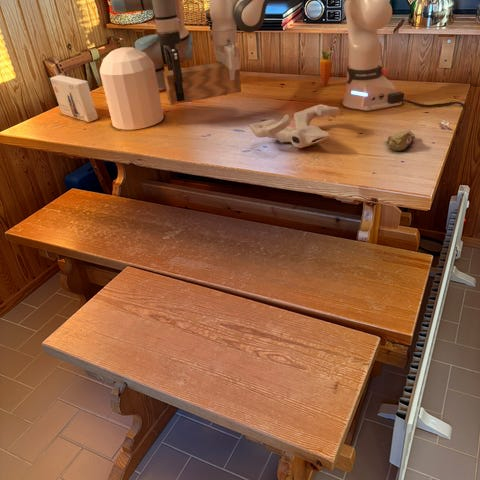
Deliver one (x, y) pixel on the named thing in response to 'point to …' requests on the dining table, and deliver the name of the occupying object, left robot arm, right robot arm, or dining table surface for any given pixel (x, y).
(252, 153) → the dining table surface
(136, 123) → the container
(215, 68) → the box
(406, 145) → the rock
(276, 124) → the beige branched piece
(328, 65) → the carrot
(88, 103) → the skincare box
